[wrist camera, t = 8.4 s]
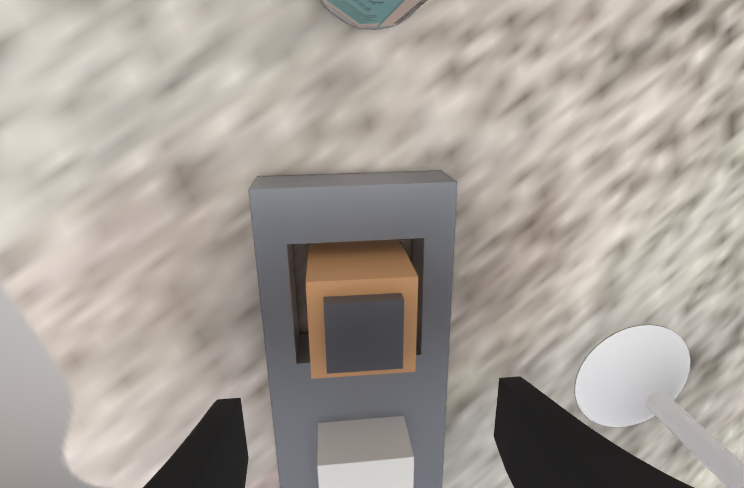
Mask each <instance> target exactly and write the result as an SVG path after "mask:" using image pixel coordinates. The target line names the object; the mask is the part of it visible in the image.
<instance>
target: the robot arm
mask: <svg viewBox="0 0 744 488" xmlns="http://www.w3.org/2000/svg"><path fill="white" fill-rule="evenodd" d="M494 438H495V441H496V444H497V447H498V450H499V453H500V456H501V458H502V461H503V464H504V467H505V469H506V472H507V474H508V476H509V478H510V480H511V482H512V484H513V486H514V488H694V487H691V486H689V485H687V484H685V483H683V482H681V481H679V480H677V479H675V478H673V477H671V476H669V475H667V474H665V473H664V472H662V471H660V470H658V469H656V468H654V467H653V466H651V465H649V464H647V463H646V462H644V461H642V460H640V459H639V458H637V457H635V456H633V455H632V454H630V453H628V452H627V451H625V450H623V449H622V448H620V447H618V446H617V445H615V444H614V443H612V442H611V441H609V440H608V439H606V438H605V437H603V436H602V435H600V434H599V433H597V432H596V431H594V430H593V429H591V428H590V427H588V426H587V425H585V424H584V423H583V422H581V421H580V420H578V419H577V418H576V417H574V416H573V415H571V414H570V413H569V412H567V411H566V410H565V409H563V408H562V407H561V406H559V405H558V404H557V403H555V402H554V401H553V400H551V399H550V398H549V397H547V396H546V395H545V394H543V393H542V392H541V391H539V390H538V389H537V388H535V387H534V386H533V385H531V384H530V383H529V382H527V381H526V380H524V379H523V378H522V377H507V378H499V387H498V398H497V408H496V418H495V429H494ZM247 465H248V451H247V443H246V436H245V428H244V421H243V413H242V405H241V398H231V399H218V400H217V401H216V402H215V403H214V404H213V405H212V406H211V407H210V409H209V410H208V411H207V413H206V414H205V415H204V417H203V418H202V419H201V421H200V422H199V423H198V424H197V426H196V427H195V428H194V429H193V431H192V432H191V433H190V435H189V436H188V437H187V438H186V439H185V441H184V442H183V443H182V444H181V445H180V447H179V448H178V449H177V450H176V451H175V453H174V454H173V455H172V456H171V457H170V459H169V460H168V461H167V462H166V463H165V464H164V465H163V467H162V468H161V469H160V470H159V471H158V472H157V473H156V474H155V475H154V476H153V477H152V479H151V480H150V481H149V482H148V483H147V484H146V485H145V486H144V487H143V488H245V482H246V474H247Z"/></svg>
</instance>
